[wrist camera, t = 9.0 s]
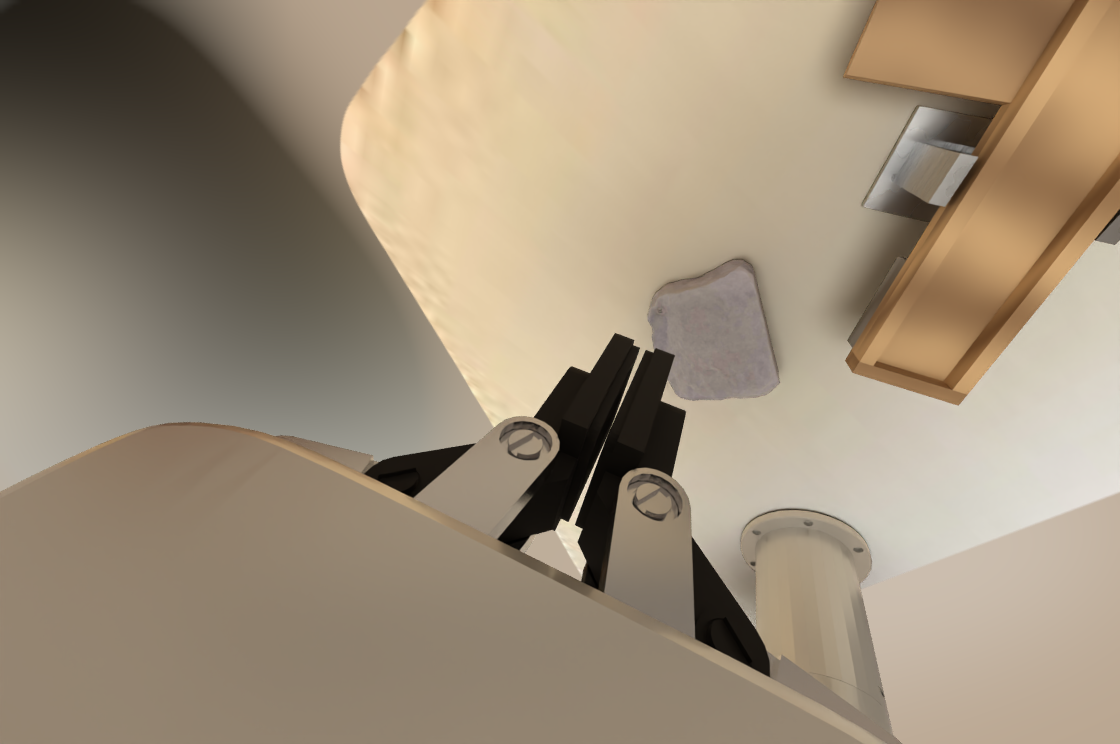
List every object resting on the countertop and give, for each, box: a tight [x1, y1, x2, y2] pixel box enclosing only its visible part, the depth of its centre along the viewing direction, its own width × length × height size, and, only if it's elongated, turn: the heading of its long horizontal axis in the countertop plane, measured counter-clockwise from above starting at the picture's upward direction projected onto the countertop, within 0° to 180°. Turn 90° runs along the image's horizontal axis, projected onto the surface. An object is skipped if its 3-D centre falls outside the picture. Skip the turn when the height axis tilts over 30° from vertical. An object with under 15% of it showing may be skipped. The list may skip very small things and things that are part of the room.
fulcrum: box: [862, 106, 1120, 245], centre depth 24 cm, size 6×10×8 cm, turn 80°
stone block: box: [648, 260, 780, 401], centre depth 37 cm, size 12×5×10 cm
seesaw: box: [843, 0, 1120, 405], centre depth 23 cm, size 22×14×4 cm, turn 171°
